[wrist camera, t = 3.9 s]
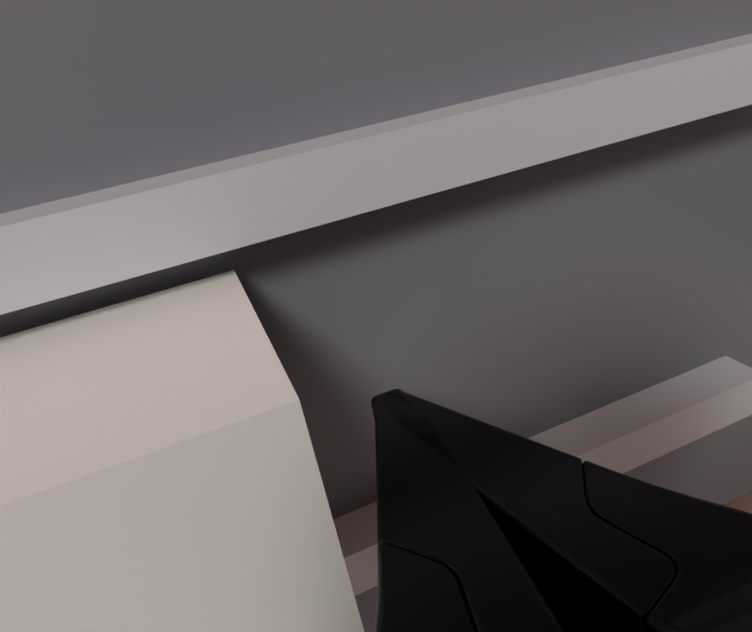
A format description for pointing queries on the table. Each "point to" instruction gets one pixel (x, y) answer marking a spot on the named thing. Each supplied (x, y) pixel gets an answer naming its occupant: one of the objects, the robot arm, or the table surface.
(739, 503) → the table surface
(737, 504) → the table surface
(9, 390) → the switch knob
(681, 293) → the slider switch base
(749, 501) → the table surface
